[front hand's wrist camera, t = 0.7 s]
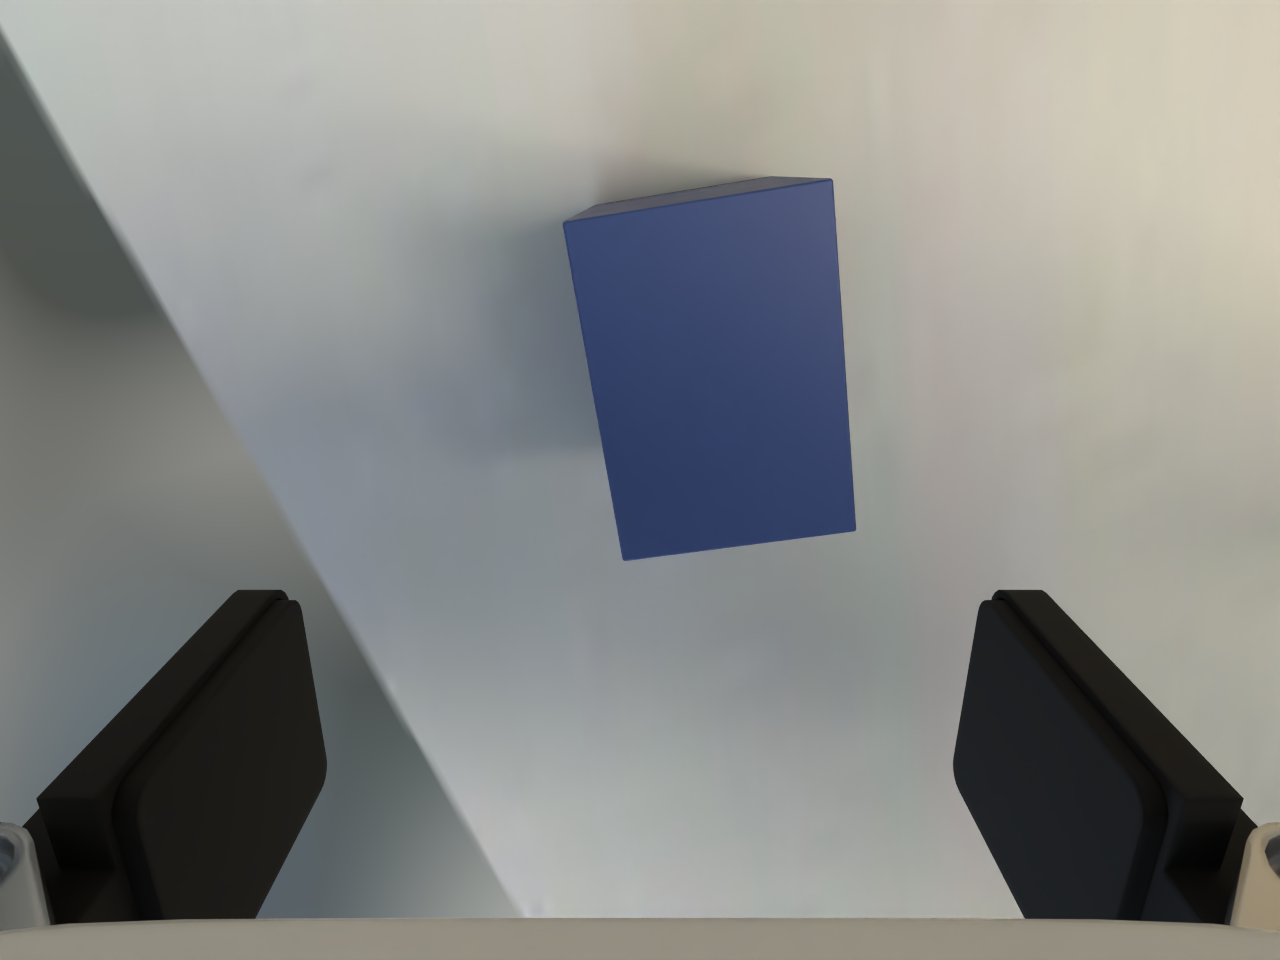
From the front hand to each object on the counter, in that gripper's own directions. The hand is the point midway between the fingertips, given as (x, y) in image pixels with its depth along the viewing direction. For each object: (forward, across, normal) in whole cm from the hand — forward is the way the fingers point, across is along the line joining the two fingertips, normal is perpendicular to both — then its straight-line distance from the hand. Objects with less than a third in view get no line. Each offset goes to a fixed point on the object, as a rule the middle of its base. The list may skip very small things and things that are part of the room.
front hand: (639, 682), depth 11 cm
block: (+20, -2, -2) cm, 20 cm away
